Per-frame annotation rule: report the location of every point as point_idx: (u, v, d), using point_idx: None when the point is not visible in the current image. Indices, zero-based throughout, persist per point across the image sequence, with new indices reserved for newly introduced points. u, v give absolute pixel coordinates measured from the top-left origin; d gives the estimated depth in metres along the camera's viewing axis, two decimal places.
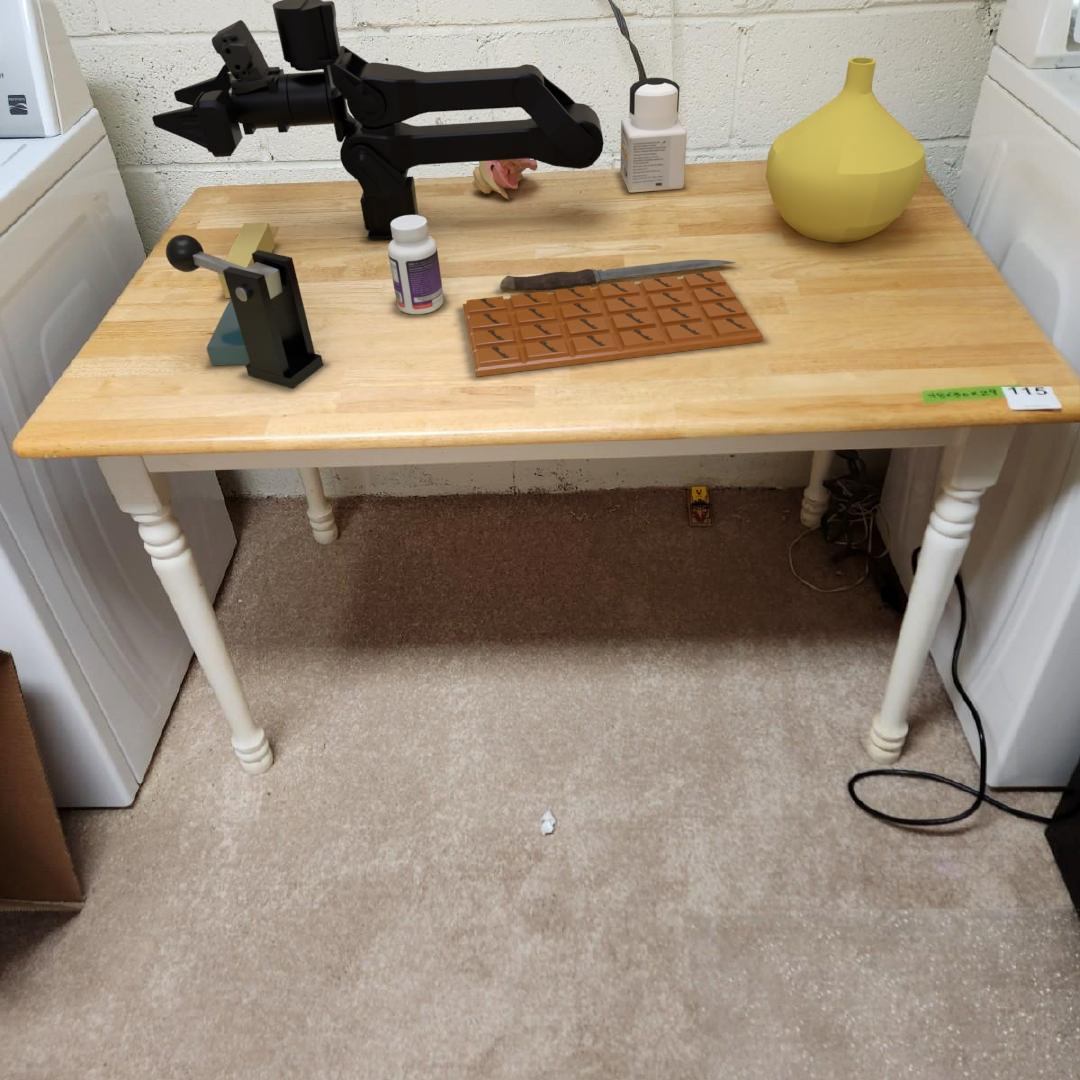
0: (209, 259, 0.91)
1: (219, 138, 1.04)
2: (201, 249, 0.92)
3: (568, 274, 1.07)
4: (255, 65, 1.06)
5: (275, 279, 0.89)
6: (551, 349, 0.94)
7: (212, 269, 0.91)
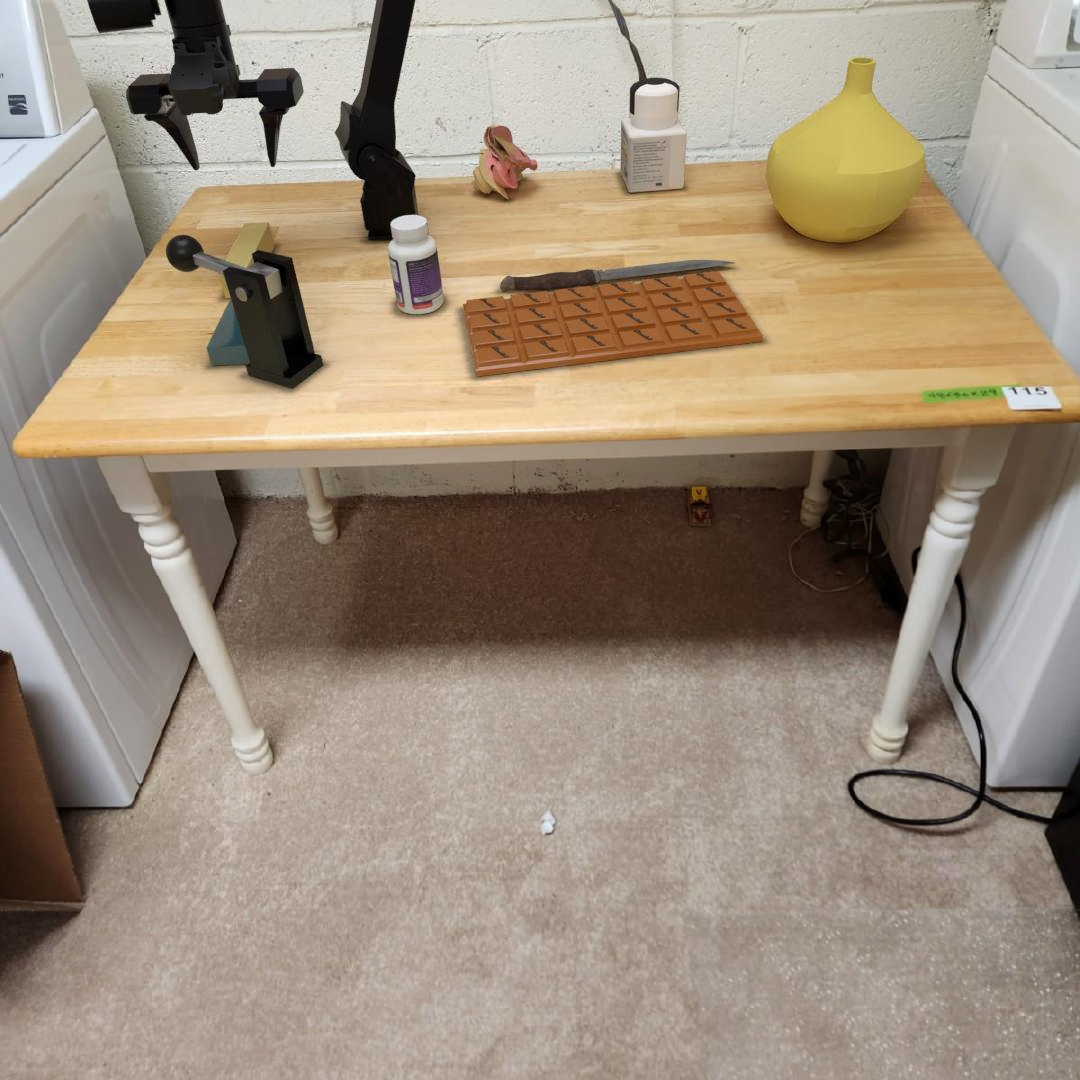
0: (209, 259, 0.91)
1: (298, 84, 1.05)
2: (201, 249, 0.92)
3: (568, 274, 1.07)
4: (213, 62, 0.98)
5: (275, 279, 0.89)
6: (551, 349, 0.94)
7: (212, 269, 0.91)
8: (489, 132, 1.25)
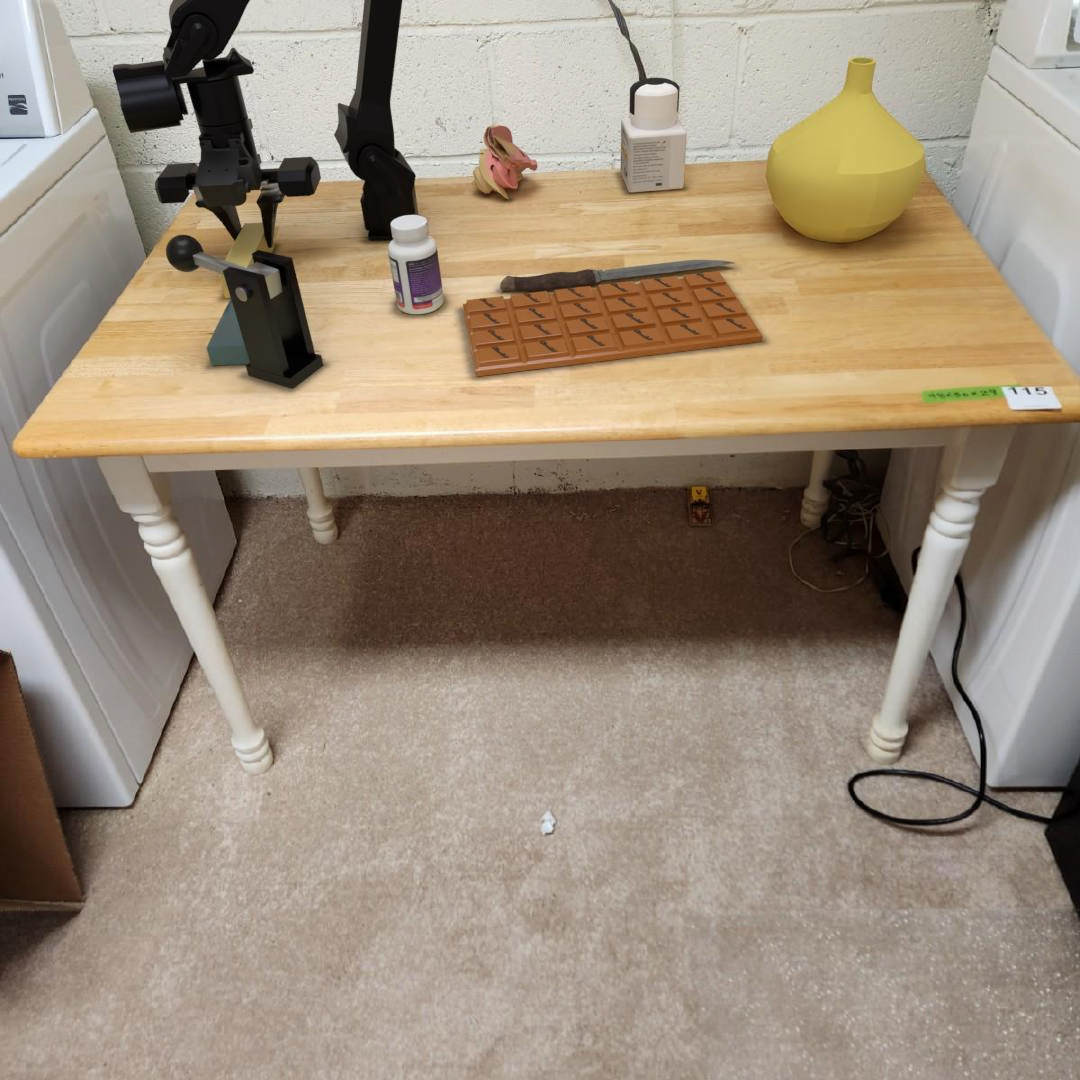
0: (209, 259, 0.91)
1: (316, 172, 1.12)
2: (201, 249, 0.92)
3: (568, 274, 1.07)
4: (237, 158, 1.05)
5: (275, 279, 0.89)
6: (551, 349, 0.94)
7: (212, 269, 0.91)
8: (489, 132, 1.25)
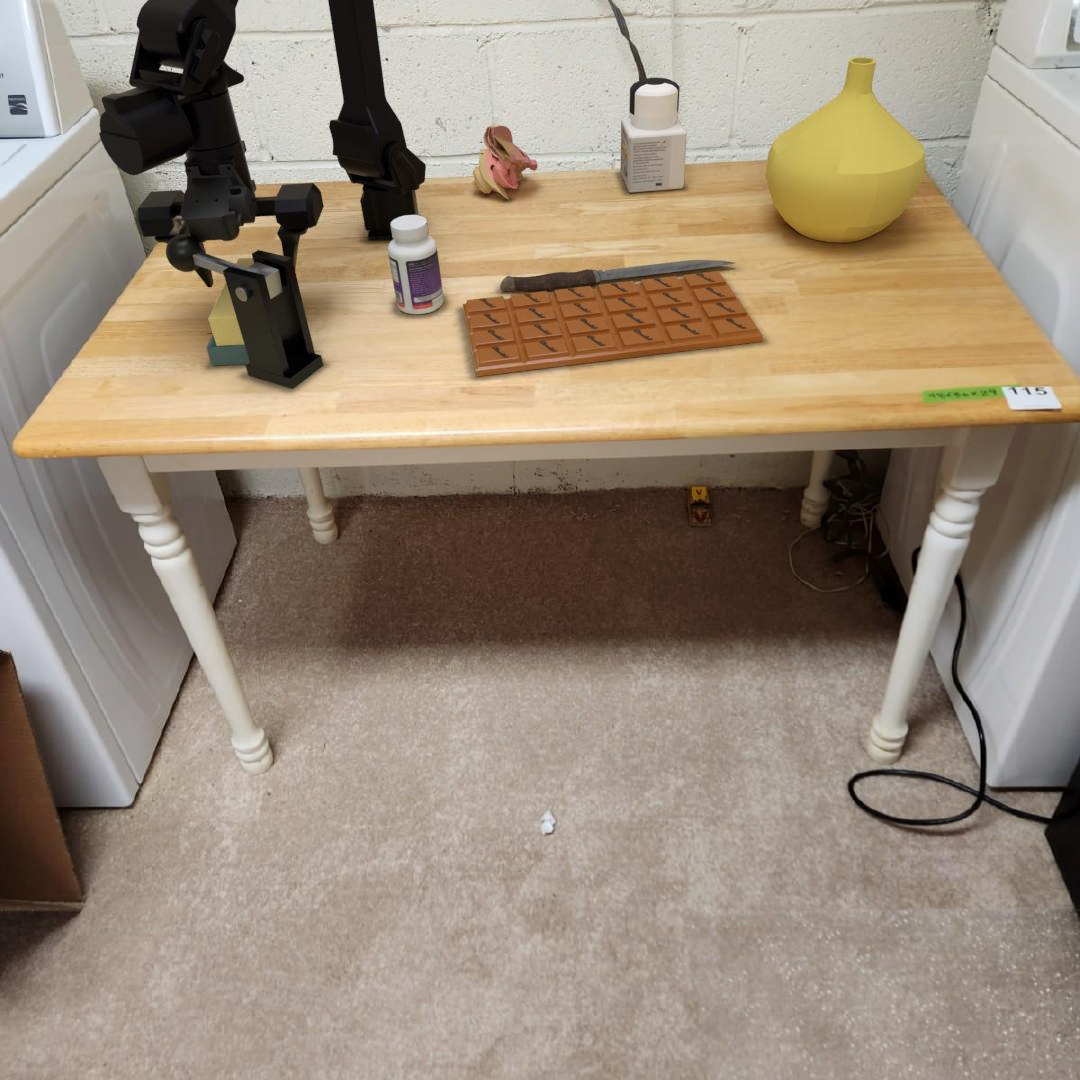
0: (209, 259, 0.91)
1: (318, 200, 0.99)
2: (201, 249, 0.92)
3: (568, 274, 1.07)
4: (228, 186, 0.92)
5: (275, 279, 0.89)
6: (551, 349, 0.94)
7: (212, 269, 0.91)
8: (489, 132, 1.25)
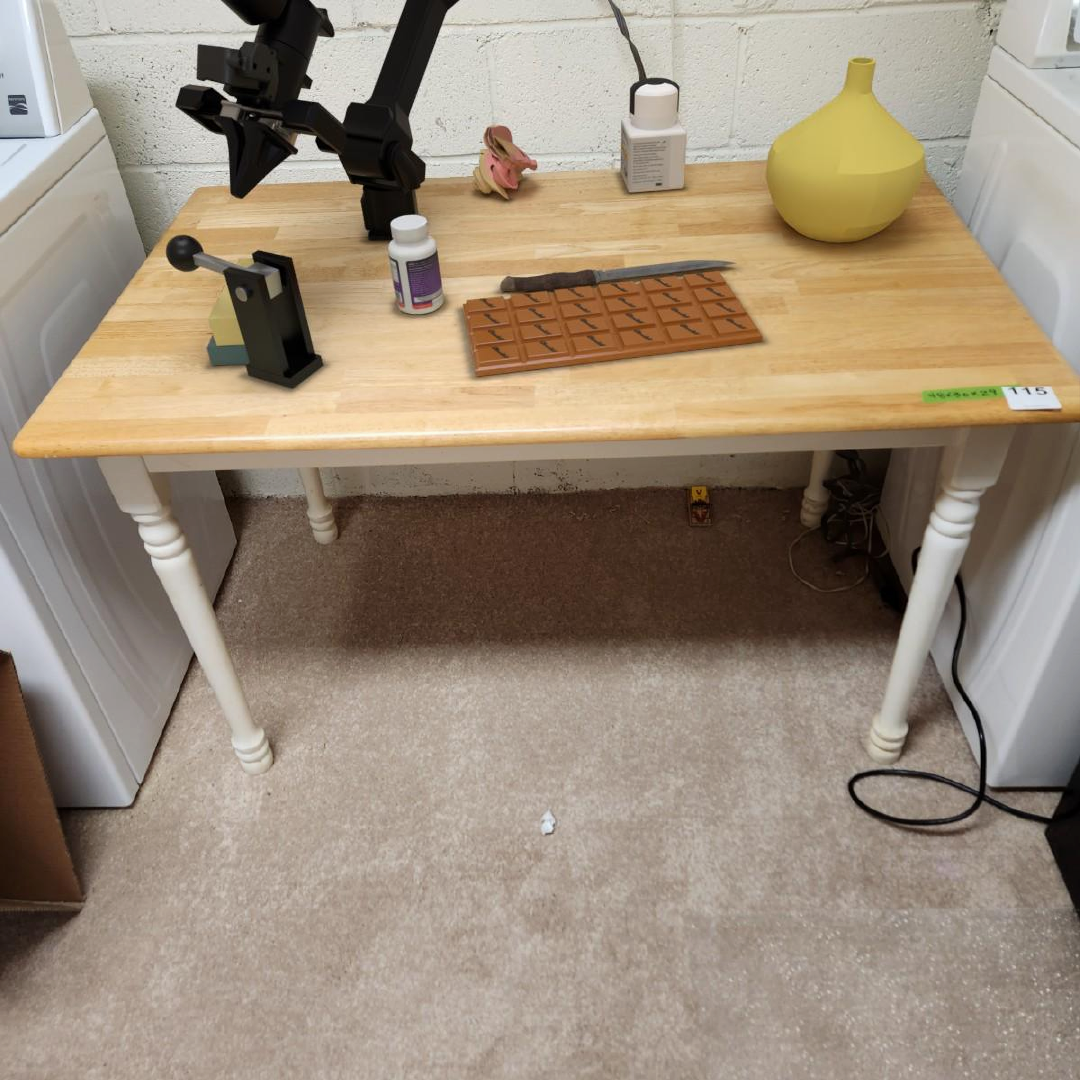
0: (209, 259, 0.91)
1: (336, 132, 0.93)
2: (201, 249, 0.92)
3: (568, 274, 1.07)
4: None
5: (275, 279, 0.89)
6: (551, 349, 0.94)
7: (212, 269, 0.91)
8: (489, 132, 1.25)
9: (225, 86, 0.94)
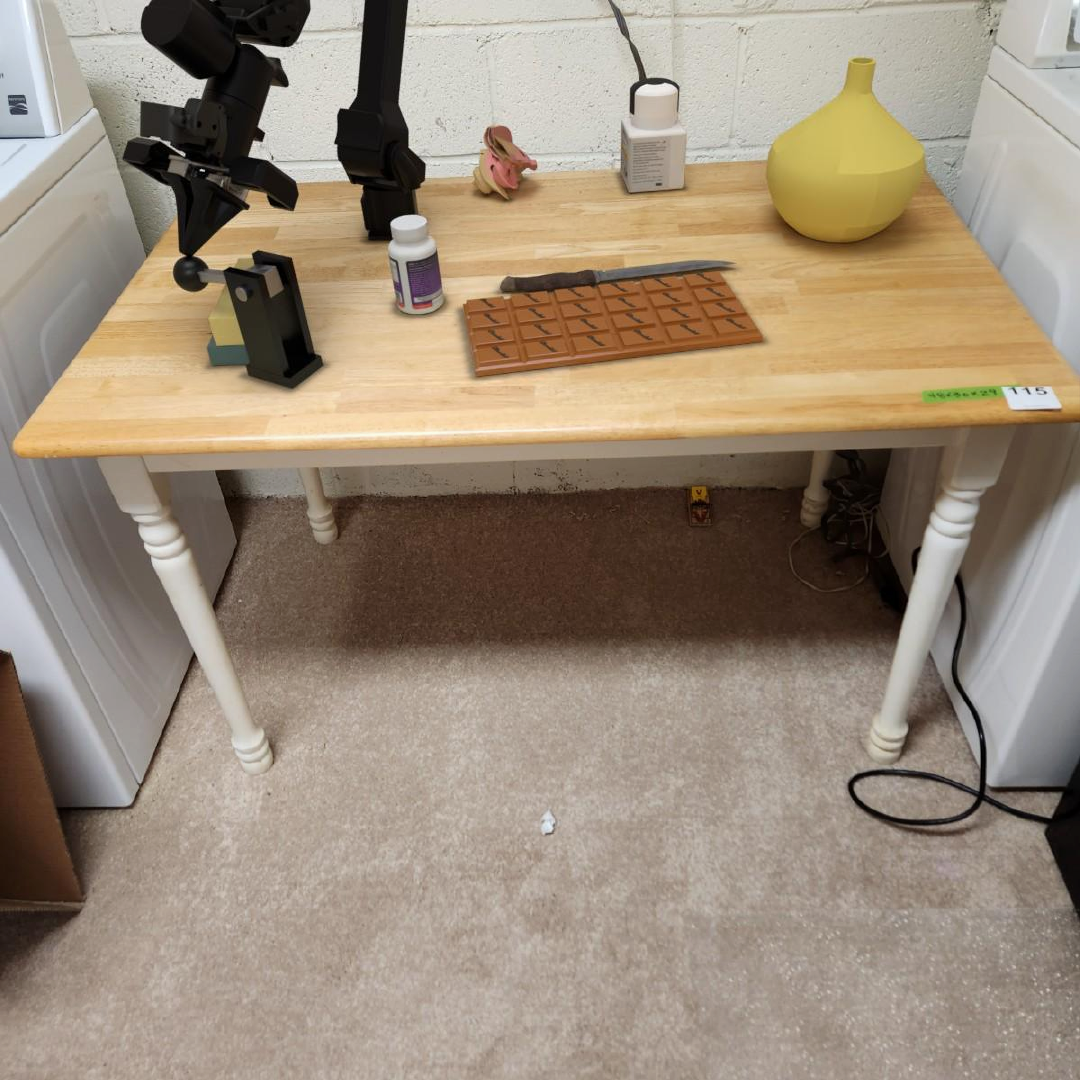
0: (212, 272, 0.92)
1: (287, 190, 0.90)
2: (206, 266, 0.94)
3: (568, 275, 1.07)
4: None
5: (273, 276, 0.89)
6: (551, 349, 0.94)
7: (216, 281, 0.92)
8: (489, 132, 1.25)
9: None
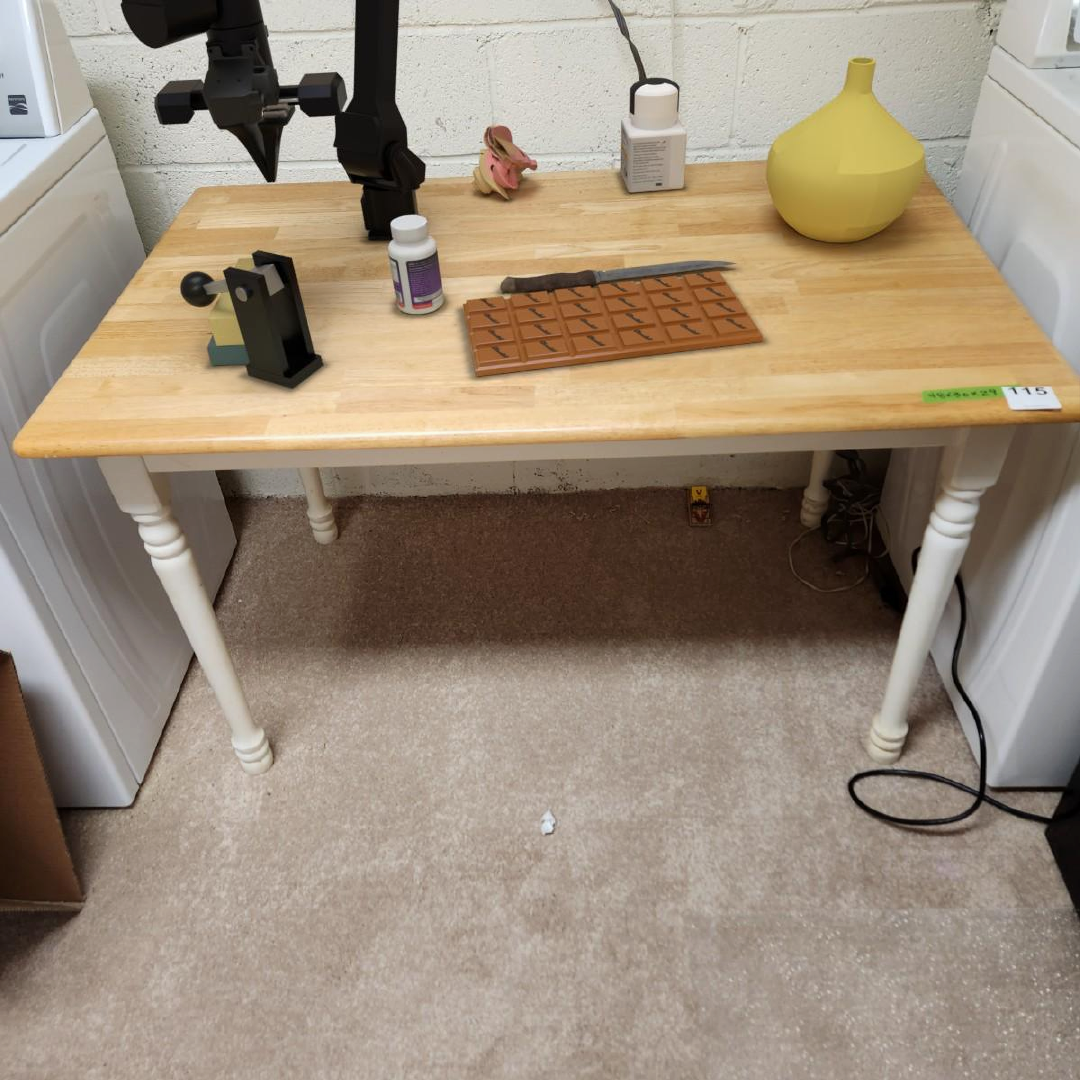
0: (216, 282, 0.93)
1: (342, 90, 0.96)
2: (211, 280, 0.95)
3: (568, 275, 1.07)
4: (251, 67, 0.89)
5: (272, 274, 0.89)
6: (551, 349, 0.94)
7: (221, 291, 0.93)
8: (489, 132, 1.25)
9: None
